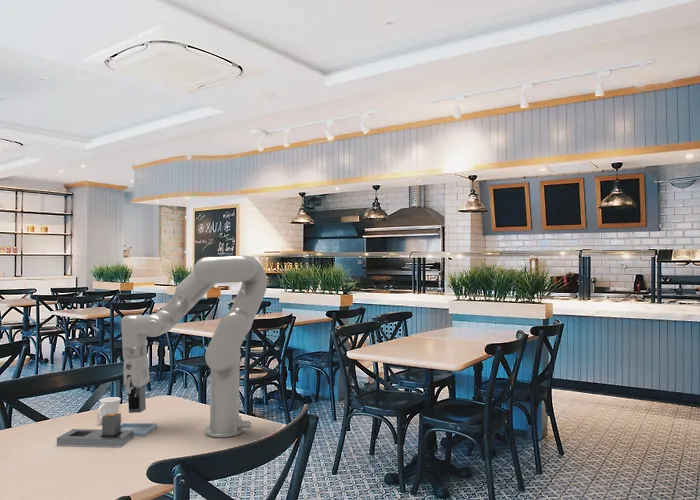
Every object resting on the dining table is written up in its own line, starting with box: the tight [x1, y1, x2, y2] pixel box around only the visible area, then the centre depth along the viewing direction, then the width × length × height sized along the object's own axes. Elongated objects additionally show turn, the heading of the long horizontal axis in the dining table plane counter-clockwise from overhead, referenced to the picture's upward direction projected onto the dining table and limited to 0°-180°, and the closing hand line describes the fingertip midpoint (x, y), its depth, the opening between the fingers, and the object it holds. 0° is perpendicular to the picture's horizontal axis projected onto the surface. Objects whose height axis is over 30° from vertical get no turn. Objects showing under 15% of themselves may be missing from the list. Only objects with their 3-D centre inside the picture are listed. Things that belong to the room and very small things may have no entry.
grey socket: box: [56, 412, 134, 448], centre depth 173 cm, size 20×9×9 cm, turn 87°
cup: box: [96, 396, 122, 424], centre depth 195 cm, size 7×10×8 cm
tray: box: [121, 422, 158, 437], centre depth 184 cm, size 12×10×2 cm
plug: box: [127, 384, 147, 414], centre depth 184 cm, size 4×4×8 cm
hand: (137, 406), depth 184 cm, fingers closed on plug, 4 cm apart
